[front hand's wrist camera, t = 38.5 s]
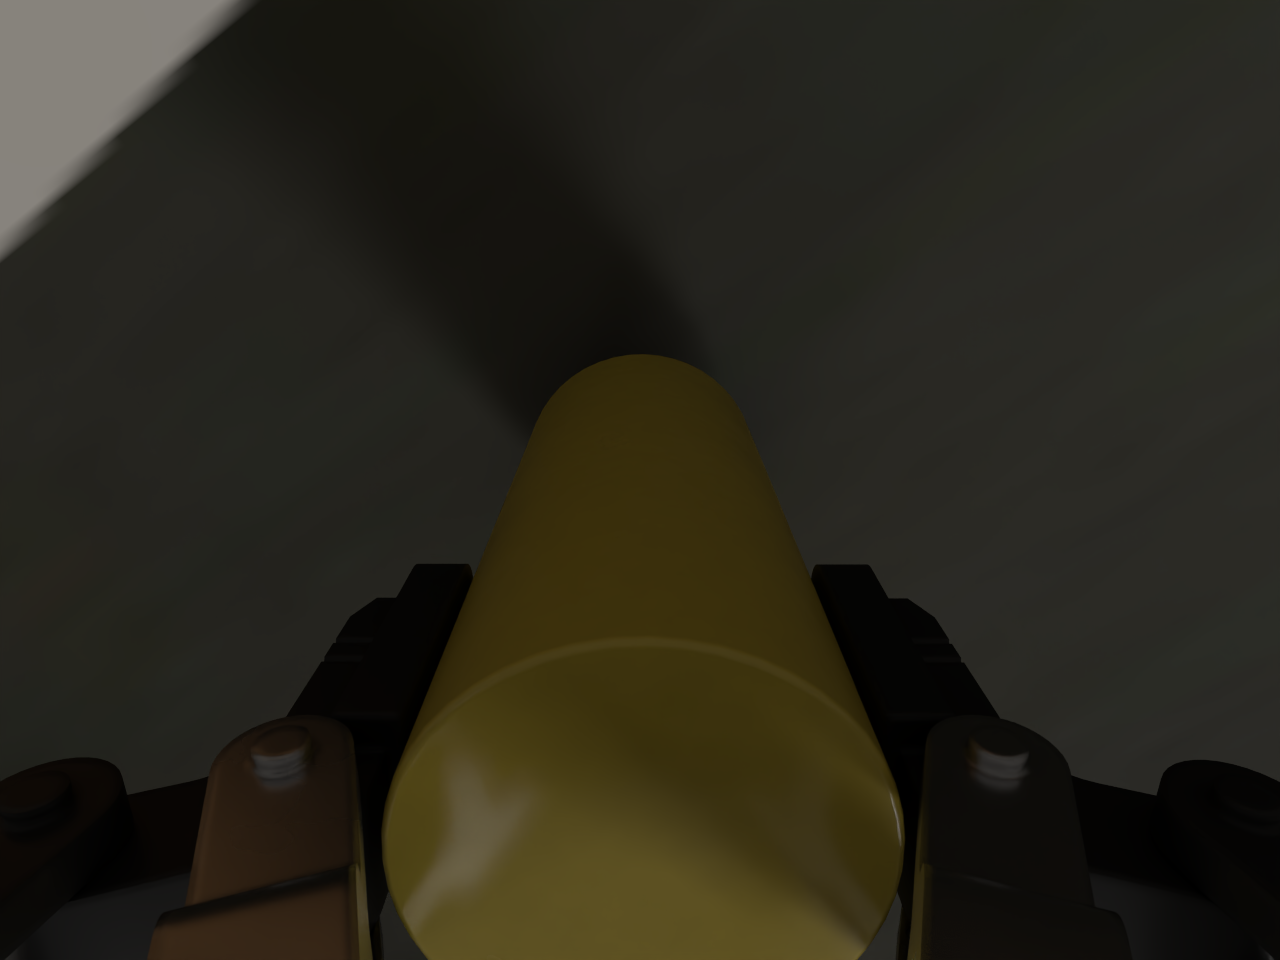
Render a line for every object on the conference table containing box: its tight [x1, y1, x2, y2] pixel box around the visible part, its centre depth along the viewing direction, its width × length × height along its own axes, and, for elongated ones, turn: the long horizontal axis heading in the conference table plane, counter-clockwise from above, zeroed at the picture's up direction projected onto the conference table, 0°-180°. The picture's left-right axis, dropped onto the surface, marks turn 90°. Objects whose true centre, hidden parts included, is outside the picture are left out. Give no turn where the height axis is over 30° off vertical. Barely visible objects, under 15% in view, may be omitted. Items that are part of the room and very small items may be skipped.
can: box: [381, 354, 905, 960], centre depth 13 cm, size 5×5×11 cm
